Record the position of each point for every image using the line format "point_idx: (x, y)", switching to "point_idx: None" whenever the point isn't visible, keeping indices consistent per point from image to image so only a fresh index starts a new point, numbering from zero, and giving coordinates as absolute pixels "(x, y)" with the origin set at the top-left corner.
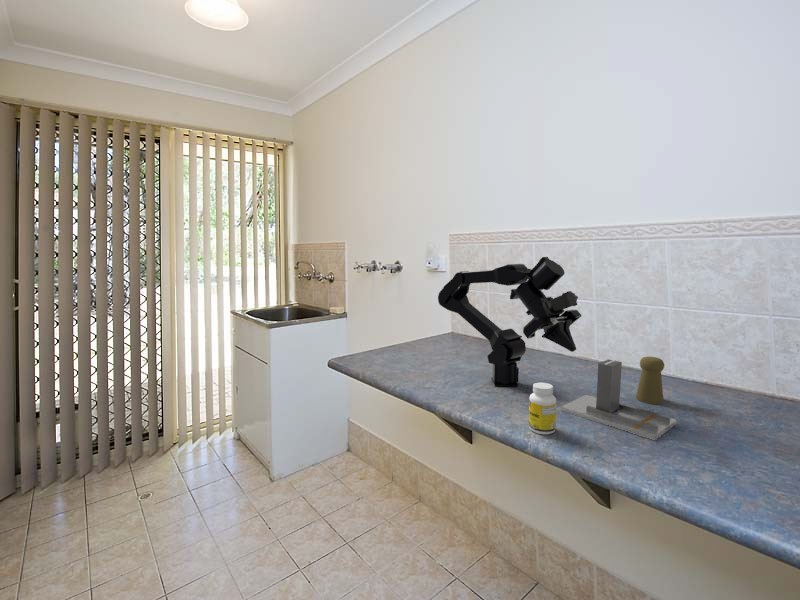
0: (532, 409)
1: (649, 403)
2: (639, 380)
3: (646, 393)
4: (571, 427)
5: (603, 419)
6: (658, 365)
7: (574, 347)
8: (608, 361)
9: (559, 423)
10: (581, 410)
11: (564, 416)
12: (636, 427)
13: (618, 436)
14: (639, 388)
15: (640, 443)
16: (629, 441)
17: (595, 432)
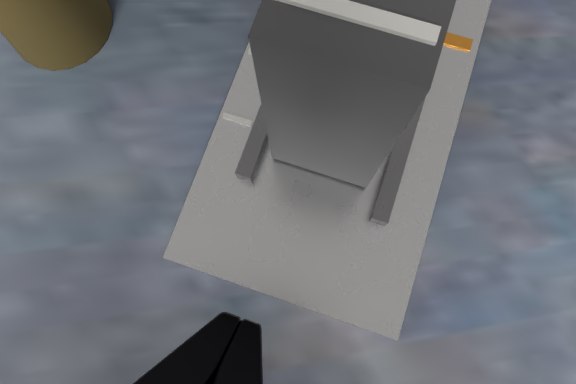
0: None
1: (111, 21)
2: (3, 11)
3: (85, 9)
4: (556, 262)
5: (448, 150)
6: None
7: (242, 333)
8: (319, 28)
9: (547, 315)
10: (397, 245)
11: (455, 310)
12: (460, 39)
13: (526, 99)
14: (50, 29)
15: (538, 35)
16: (545, 65)
17: (543, 172)
